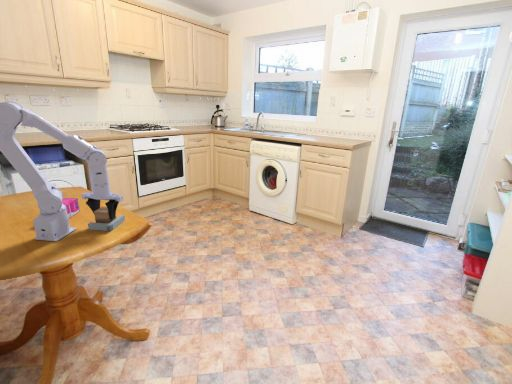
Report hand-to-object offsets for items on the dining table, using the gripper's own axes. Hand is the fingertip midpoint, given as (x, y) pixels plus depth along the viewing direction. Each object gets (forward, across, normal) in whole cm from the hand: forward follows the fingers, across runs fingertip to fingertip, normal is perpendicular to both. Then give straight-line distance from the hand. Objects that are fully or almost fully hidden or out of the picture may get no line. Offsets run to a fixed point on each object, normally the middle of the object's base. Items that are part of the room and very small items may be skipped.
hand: (105, 217), depth 103 cm
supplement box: (0, +21, -10) cm, 23 cm away
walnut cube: (+2, 0, 0) cm, 2 cm away
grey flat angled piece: (+3, 0, 0) cm, 3 cm away
